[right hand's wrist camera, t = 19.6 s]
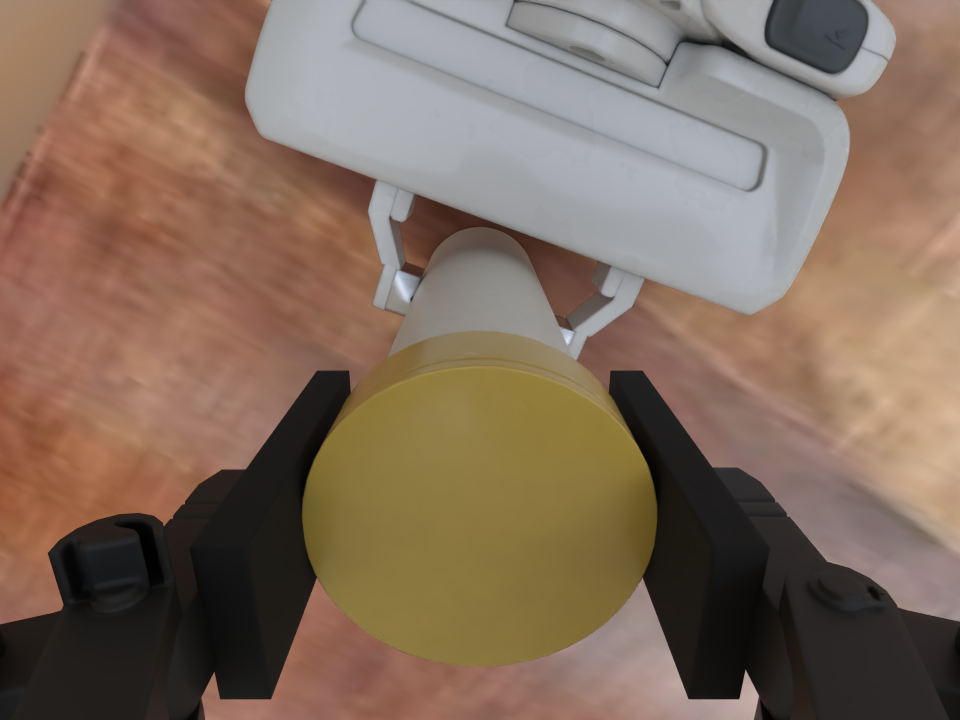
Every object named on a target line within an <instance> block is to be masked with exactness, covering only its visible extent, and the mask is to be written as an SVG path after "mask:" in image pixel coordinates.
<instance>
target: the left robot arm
mask: <svg viewBox="0 0 960 720" xmlns="http://www.w3.org/2000/svg"><path fill="white" fill-rule="evenodd" d="M895 44H896V34H895V30H894V28H893V26H892V24H891V22H890V21H889V19H888V18H887V17H886V16H885V14H884V13H883V12H882V11H881V10H880V9H879V8H878V7H877V6H876V4H875V3H874V2H873V1H872V0H272V1H271V3H270V6H269V9H268V12H267V15H266V18H265V20H264V23H263V26H262V30H261V33H260V36H259V39H258V43H257V46H256V49H255V53H254V56H253V60H252V64H251V68H250V71H249V75H248V79H247V84H246V89H245V102H246V106H247V108H248V110H249V113H250V115H251V117H252V120H253V122H254V124H255V126H256V128H257V131H258V133H259V134H260V135H261V136H262V137H264V138H266V139H268V140H270V141H273V142H276V143H278V144H281V145H284V146H287V147H289V148H292V149H295V150H297V151H300V152H303V153H306V154H308V155H311V156H314V157H317V158H319V159H322V160H325V161H327V162H330V163H333V164H336V165H338V166H341V167H344V168H346V169H349V170H352V171H355V172H357V173H360V174H363V175H366V176H368V177H371V178H374V179H376V184H375V187H374V191H373V194H372V198H371V201H370V205H369V208H368V214H369V218H370V222H371V226H372V230H373V234H374V238H375V242H376V246H377V250H378V254H379V258H380V262H381V264H384V267H383V270H382V273H381V276H380V280H379V283H378V286H377V290H376V293H375V296H374V299H373V305H372V306H374V307H377V308H379V309H382V310H386V311H389V312H392V313H395V314H398V315H401V316H404V317H405V315H406V313H407V311H408V309H409V306H410V304H411V302H412V299H413V297H414V295H415V293H416V290H417V289H418V286H419V284H420V282H421V280H422V277H423V273H424V270H425V269H423V268H421V267H418V266H415V265H413V264H410V263H407V262H406V257H405V252H404V247H403V243H402V238H401V233H400V228H399V223H398V221H399V222H403V221H405V220H406V219H407V218H408V217H409V216H411V215H412V212H413V209H414V206H415V203H416V200H417V197H418V195H420V196H423V197H425V198H428V199H431V200H434V201H436V202H439V203H442V204H444V205H447V206H450V207H453V208H455V209H458V210H461V211H464V212H466V213H469V214H472V215H474V216H477V217H480V218H483V219H485V220H488V221H491V222H493V223H496V224H499V225H502V226H504V227H507V228H510V229H513V230H515V231H518V232H521V233H523V234H526V235H529V236H532V237H534V238H537V239H540V240H542V241H545V242H548V243H551V244H553V245H556V246H559V247H562V248H564V249H567V250H570V251H572V252H575V253H578V254H581V255H583V256H586V257H589V258H591V259H594V260H597V261H598V263H597V266H596V268H595V270H594V273H593V275H592V278H591V281H592V283H593V284H594V285H595V287H596V288H597V289H598V290H599V291H598V292H596V293H595V294H594V295H593V296H591V297H590V298H589V299H588V300H587V301H585V302H584V303H583V304H582V305H580V306H579V307H578V308H577V309H576V310H574V311H573V312H572V313H571V314H569V315H568V316H567V317H566V318H567V319H566V318H563V317H560V316H557V315H554V316H555V318H556V320H557V323H558V325H559V327H560V329H561V332H562V334H563V336H564V339H565V341H566V343H567V345H568V348H569V350H570V352H571V354H572V357H573V359H574V360H576V361H577V358H578V356H579V354H580V352H581V349H582V347H583V345H584V343H585V340H586V338H587V336H589V337H591V336H592V335H594V334H595V333H596V332H598V331H599V330H601V329H602V328H603V327H605V326H606V325H607V324H609V323H610V322H612V321H613V320H614V319H616V318H617V317H619V316H620V315H621V314H623V313H624V312H625V311H627V310H628V309H630V308H631V307H632V306H633V304H634V302H635V300H636V297H637V295H638V293H639V291H640V289H641V287H642V285H643V282H644V280H645V278H646V279H649V280H651V281H654V282H657V283H660V284H662V285H665V286H668V287H670V288H673V289H676V290H679V291H681V292H684V293H687V294H689V295H692V296H695V297H698V298H700V299H703V300H706V301H709V302H711V303H714V304H717V305H719V306H722V307H725V308H728V309H730V310H733V311H736V312H739V313H741V314H744V315H752V314H754V313H756V312H758V311H760V310H762V309H764V308H766V307H767V306H769V305H771V304H772V303H774V302H776V301H778V300H779V299H780V298H782V297H783V296H784V294H785V293H786V292H787V290H788V289H789V288H790V286H791V284H792V283H793V281H794V279H795V278H796V276H797V274H798V272H799V270H800V269H801V267H802V265H803V263H804V261H805V259H806V257H807V255H808V253H809V251H810V249H811V247H812V245H813V243H814V241H815V239H816V237H817V235H818V233H819V231H820V229H821V227H822V224H823V222H824V220H825V218H826V215H827V213H828V211H829V209H830V206H831V204H832V202H833V199H834V197H835V195H836V192H837V190H838V187H839V185H840V182H841V180H842V177H843V174H844V171H845V168H846V164H847V160H848V156H849V149H850V131H849V126H848V122H847V119H846V117H845V115H844V113H843V111H842V110H841V108H840V107H839V106H838V105H837V103H836V102H835V101H837V100H842V99H845V98H849V97H853V96H856V95H860V94H862V93H864V92H866V91H868V90H869V89H870V88H871V87H872V86H873V85H874V84H875V83H876V81H877V80H878V79H879V77H880V76H881V74H882V73H883V71H884V69H885V67H886V66H887V64H888V62H889V60H890V58H891V56H892V53H893V51H894V47H895Z"/></svg>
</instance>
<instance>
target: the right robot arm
mask: <svg viewBox="0 0 960 720" xmlns="http://www.w3.org/2000/svg"><path fill="white" fill-rule="evenodd" d="M350 393H351V390H350V377H349V371H317V372H316V373H315V374H314V376H313V377H312V379H311V380H310V381H309V383H308V384H307V386H306V387H305V388H304V390H303V391H302V392H301V394H300V395H299V397H298V398H297V399H296V401H295V402H294V404H293V405H292V406H291V408H290V409H289V410H288V412H287V413H286V415H285V416H284V417H283V419H282V420H281V422H280V423H279V424H278V426H277V427H276V428H275V430H274V431H273V433H272V434H271V435H270V437H269V438H268V440H267V441H266V442H265V444H264V445H263V446H262V448H261V449H260V451H259V452H258V453H257V455H256V456H255V458H254V459H253V460H252V462H251V463H250V464H249V466H248V467H247V469H246V470H221V471H219V472H218V473H216V474H214V475H213V476H211V477H210V478H208V479H207V480H205V481H203V482H202V483H200V484H199V485H198V486H197V487H196V489H195V490H194V491H193V492H192V494H191V495H190V496H189V497H188V498H187V500H186V501H185V505H182V506H181V507H180V508H179V509H178V510H177V512H176V513H175V514H174V515H173V519H170V520H169V521H168V522H167V524H166V525H165V526H163V523H162V522H161V521H160V520H158V519H157V518H156V517H155V516H152V515H147V514H141V513H131V514H119V515H115V516H111V517H107V518H103V519H99V520H96V521H94V522H91V523H89V524H87V525H84V526H82V527H80V528H77V529H76V530H74V531H73V532H71V533H70V534H68V535H67V536H65V537H64V538H62V539H60V540H59V541H58V542H57V543H56V545H55V546H54V547H53V548H52V549H51V550H50V551H49V553H48V555H49V559H50V562H51V565H52V568H53V572H54V575H55V578H56V581H57V585H58V588H59V591H60V594H61V598H62V601H63V604H64V606H63V608H62V610H61V611H58V612H54V613H51V614H46V615H41V616H37V617H32V618H28V619H23V620H19V621H14V622H9V623H5V624H0V720H205V715H204V708H203V704H202V699H201V697H202V695H203V693H204V691H205V689H206V687H207V685H208V683H209V681H210V679H211V677H212V675H213V673H214V671H215V676H216V681H217V686H218V691H219V695H220V699H271V698H272V695H273V693H274V690H275V687H276V685H277V682H278V679H279V677H280V674H281V671H282V669H283V666H284V663H285V661H286V658H287V655H288V653H289V650H290V648H291V645H292V642H293V640H294V637H295V634H296V632H297V629H298V626H299V624H300V621H301V618H302V616H303V613H304V610H305V608H306V605H307V602H308V600H309V597H310V594H311V592H312V589H313V586H314V584H315V581H316V579H317V577H316V574H315V572H314V570H313V567H312V565H311V563H310V560H309V558H308V554H307V550H306V546H305V539H304V531H303V523H302V499H303V494H304V489H305V485H306V480H307V477H308V474H309V472H310V469H311V466H312V464H313V461H314V459H315V457H316V455H317V453H318V451H319V450H320V447H321V446H322V444H323V442H324V440H325V438H326V436H327V434H328V432H329V430H330V429H331V427H332V425H333V423H334V421H335V419H336V417H337V415H338V413H339V412H340V410H341V408H342V406H343V405H344V403H345V401H346V399H347V398H348V396H349V395H350ZM609 394H610V396H611V397H612V399H613V400H614V402H615V403H616V405H617V407H618V409H619V411H620V413H621V415H622V417H623V419H624V421H625V422H626V424H627V426H628V428H629V430H630V432H631V434H632V436H633V438H634V440H635V441H636V443H637V445H638V447H639V449H640V451H641V453H642V455H643V457H644V459H645V461H646V463H647V465H648V467H649V470H650V473H651V476H652V479H653V482H654V486H655V492H656V498H657V504H658V518H657V528H656V536H655V544H654V548H653V552H652V555H651V558H650V562H649V564H648V566H647V569H646V571H645V573H644V575H643V579H644V582H645V585H646V587H647V590H648V593H649V595H650V598H651V601H652V603H653V606H654V609H655V611H656V614H657V617H658V619H659V622H660V625H661V627H662V630H663V633H664V635H665V638H666V641H667V643H668V646H669V648H670V651H671V654H672V656H673V659H674V662H675V664H676V667H677V670H678V672H679V675H680V678H681V680H682V683H683V686H684V688H685V691H686V694H687V696H688V699H739V698H740V694H741V689H742V684H743V679H744V674H745V669H746V671H747V673H748V675H749V677H750V679H751V681H752V683H753V685H754V687H755V689H756V691H757V693H758V695H759V699H758V704H757V708H756V713H755V717H754V720H960V622H958V621H954V620H949V619H944V618H940V617H935V616H931V615H926V614H921V613H917V612H912V611H908V610H904V609H901V608H898V607H897V605H896V603H895V602H894V601H893V599H892V598H891V597H890V595H889V594H888V593H887V591H886V590H885V589H883V588H882V587H881V586H879V585H878V584H877V583H875V582H874V581H873V580H872V579H870V578H869V577H867V576H865V575H863V574H861V573H858V572H856V571H854V570H852V569H850V568H847V567H844V566H840V565H837V564H833V563H830V562H827V561H826V560H825V559H824V557H823V556H822V555H821V554H820V553H819V551H818V550H817V549H816V548H815V547H814V545H813V544H812V543H811V542H810V541H809V539H808V538H807V537H806V536H805V535H804V533H803V532H802V531H801V530H800V529H799V527H798V526H797V525H796V524H795V523H794V521H793V520H792V519H791V518H790V517H787V513H786V512H785V511H784V509H783V508H782V507H781V506H780V505H779V503H778V502H775V499H774V498H773V496H772V495H771V494H770V493H769V492H768V490H767V489H766V488H765V487H764V486H763V484H762V483H761V482H760V481H758V480H756V479H755V478H753V477H752V476H750V475H749V474H747V473H745V472H744V471H742V470H741V469H739V468H712V466H711V465H710V464H709V462H708V461H707V459H706V458H705V457H704V455H703V454H702V453H701V451H700V450H699V448H698V447H697V446H696V444H695V443H694V441H693V440H692V439H691V437H690V436H689V435H688V433H687V432H686V430H685V429H684V428H683V426H682V425H681V423H680V422H679V421H678V419H677V418H676V417H675V415H674V414H673V412H672V411H671V410H670V408H669V407H668V405H667V404H666V403H665V401H664V400H663V399H662V397H661V396H660V394H659V393H658V392H657V390H656V389H655V387H654V386H653V385H652V383H651V382H650V380H649V379H648V378H647V376H646V375H645V374H644V372H643V371H611V373H610V385H609Z"/></svg>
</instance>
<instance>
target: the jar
mask: <svg viewBox="0 0 960 720" xmlns="http://www.w3.org/2000/svg"><path fill="white" fill-rule="evenodd" d="M465 331H496V332H503V333H510V334H516V335H520V336H523V337H527V338H531V339H534V340H537V341H540V342H542V343H544V344H547V345H549V346H551V347H554V348H556V349H558V350H559V351H561V352H563V353H565V354H566V355H568V356H570V357H571V358H573V357H572V354H571V352H570V350H569V348H568V345H567V343H566V341H565V339H564V336H563V334H562V332H561V329H560V327H559V325H558V323H557V320H556V318H555V316H554V313H553V311H552V309H551V307H550V304H549V302H548V300H547V298H546V295H545V293H544V291H543V288H542V286H541V284H540V282H539V279H538V277H537V275H536V273H535V270H534V268H533V266H532V263H531V261H530V259H529V257H528V255H527V253H526V252H525V250H524V249H523V247H522V246H521V245H520V244H519V243H518V242H517V241H516V240H515V239H513V238H512V237H511V236H509V235H508V234H506V233H504V232H502V231H499V230H496V229H493V228H487V227H472V228H467V229H463V230H461V231H458V232H456V233H454V234H452V235H450V236H449V237H448V238H446V239H445V240H444V241H443V242H442V243H441V244H440V245H439V246H438V247H437V249H436V250H435V251H434V253H433V255H432V256H431V259H430V261H429V263H428V265H427V268H426V270H425V272H424V274H423V277H422V280H421V282H420V284H419V286H418V289H417V290H416V293H415V295H414V297H413V299H412V302H411V304H410V306H409V309H408V311H407V313H406V315H405V318H404V320H403V322H402V324H401V327H400V329H399V331H398V334H397V336H396V338H395V340H394V343H393V345H392V347H391V349H390V352H389V354H388V356H387V358H388V357H390V356H391V355H393V354H395V353H397V352H398V351H400V350H402V349H404V348H406V347H408V346H410V345H412V344H415V343H418V342H420V341H423V340H426V339H428V338H432V337H436V336H440V335H444V334H449V333H456V332H465Z"/></svg>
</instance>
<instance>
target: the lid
mask: <svg viewBox="0 0 960 720" xmlns="http://www.w3.org/2000/svg"><path fill="white" fill-rule="evenodd" d="M657 518H658V504H657V498H656V492H655V486H654V482H653V479H652V476H651V473H650V470H649V467H648V465H647V463H646V461H645V459H644V457H643V455H642V453H641V451H640V449H639V447H638V445H637V443H636V441H635V440H634V438H633V436H632V434H631V432H630V430H629V428H628V426H627V424H626V422H625V421H624V419H623V417H622V415H621V413H620V411H619V409H618V407H617V405H616V403H615V402H614V400H613V399H612V397H611V396H610V394H609V393H608V392H607V390H606V389H605V387H604V386H603V385H602V384H601V383H600V382H599V381H598V380H597V379H596V378H595V377H594V376H593V374H592V373H591V372H590V371H588V370H587V369H586V368H585V367H583V366H582V365H581V364H580V363H578V362H577V361H576V360H574V359H573V358H571V357H570V356H568V355H566V354H565V353H563V352H561V351H559V350H558V349H556V348H554V347H551V346H549V345H547V344H544V343H542V342H540V341H537V340H534V339H531V338H527V337H523V336H520V335H516V334H510V333H503V332H496V331H465V332H456V333H449V334H444V335H440V336H436V337H432V338H428V339H426V340H423V341H420V342H418V343H415V344H412V345H410V346H408V347H406V348H404V349H402V350H400V351H398V352H397V353H395V354H393V355H391V356H390V357H388V358H387V359H385V360H384V361H383V362H381V363H380V364H379V365H377V366H376V367H374V368H373V369H372V370H371V371H370V372H369V373H368V374H367V375H366V376H365V377H364V378H363V379H362V380H361V381H360V382H359V383H358V385H357V386H356V387H355V388H354V390H353V391H352V392H351V393H350V395H349V396H348V398H347V399H346V401H345V403H344V405H343V406H342V408H341V410H340V412H339V413H338V415H337V417H336V419H335V421H334V423H333V425H332V427H331V429H330V430H329V432H328V434H327V436H326V438H325V440H324V442H323V444H322V446H321V447H320V450H319V451H318V453H317V455H316V457H315V459H314V461H313V464H312V466H311V469H310V472H309V474H308V477H307V480H306V485H305V489H304V494H303V499H302V523H303V531H304V539H305V546H306V550H307V554H308V558H309V560H310V563H311V565H312V567H313V570H314V572H315V574H316V577H317V578H318V580H319V582H320V583H321V585H322V587H323V588H324V590H325V592H326V593H327V594H328V596H329V597H330V598H331V599H332V601H333V602H334V603H335V604H336V606H337V607H338V608H339V609H340V610H341V611H342V612H343V613H344V614H345V615H346V616H347V617H348V618H349V619H350V620H351V621H352V622H354V623H355V624H356V625H358V626H359V627H360V628H361V629H363V630H364V631H365V632H367V633H368V634H370V635H371V636H373V637H375V638H376V639H378V640H380V641H381V642H383V643H385V644H386V645H389V646H391V647H393V648H395V649H398V650H400V651H402V652H404V653H407V654H410V655H413V656H416V657H419V658H422V659H425V660H430V661H434V662H439V663H443V664H450V665H459V666H479V667H489V666H500V665H510V664H515V663H521V662H526V661H530V660H534V659H537V658H540V657H544V656H547V655H550V654H552V653H555V652H557V651H560V650H562V649H564V648H567V647H569V646H571V645H573V644H574V643H576V642H578V641H580V640H582V639H584V638H585V637H587V636H588V635H590V634H591V633H592V632H594V631H595V630H597V629H598V628H600V627H601V626H602V625H603V624H605V623H606V622H607V621H608V620H609V619H610V618H611V617H612V616H613V615H615V614H616V613H617V612H618V611H619V609H620V608H621V607H622V606H623V605H624V604H625V602H626V601H627V600H628V599H629V598H630V596H631V595H632V593H633V592H634V590H635V589H636V587H637V586H638V584H639V583H640V581H641V579H642V577H643V575H644V573H645V571H646V569H647V566H648V564H649V562H650V558H651V555H652V552H653V548H654V544H655V536H656V528H657Z"/></svg>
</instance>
